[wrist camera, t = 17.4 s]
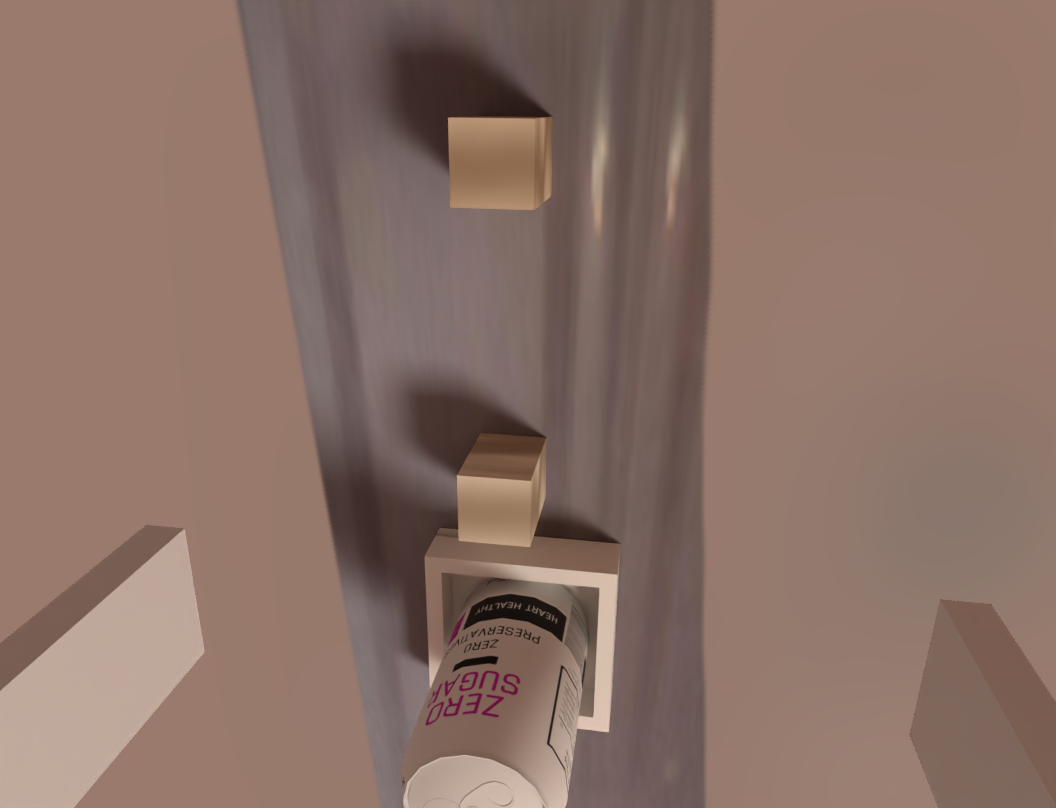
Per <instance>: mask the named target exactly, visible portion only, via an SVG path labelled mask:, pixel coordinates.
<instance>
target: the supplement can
mask: <svg viewBox="0 0 1056 808" xmlns="http://www.w3.org/2000/svg"><path fill="white" fill-rule="evenodd" d="M588 646H589V628H588V619H587V617H586V615H585V613H584V611H583V609H582V607H581V605H580V604H579V602H578V600H577V599H576V598H575V597H574V596H573V595H571V594H570V593H569V592H568V591H567V590H566V589H565V588H564V587H563V586H562V585H560V584H555V583H545V582H534V581H524V580H514V579H503V578H493V577H492V578H490V579H488V580H487V581H485V582H483V583H481V584H480V585H478V586H477V587H476V588H475V589H474V591H473V592H472V593H471V595H470V596H469V597H468V598H467V600H466V601H465V604H464V606H463V609H462V611H461V614H460V616H459V619H458V621H457V624H456V626H455V629H454V631H453V634H452V636H451V639H450V641H449V644H448V646H447V649H446V651H445V654H444V656H443V659H442V661H441V664H440V666H439V669H438V671H437V674H436V676H435V679H434V681H433V684H432V686H431V689H430V691H429V694H428V696H427V699H426V701H425V704H424V706H423V709H422V711H421V714H420V716H419V719H418V721H417V724H416V726H415V729H414V731H413V734H412V736H411V739H410V741H409V744H408V746H407V749H406V751H405V755H404V759H403V763H402V767H401V771H400V776H401V781H402V785H403V790H404V798H403V803H404V808H565V806H566V804H567V797H568V790H569V782H570V775H571V768H572V761H573V754H574V746H575V739H576V732H577V725H578V718H579V710H580V703H581V696H582V689H583V682H584V674H585V667H586V660H587V653H588Z"/></svg>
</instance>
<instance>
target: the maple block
mask: <svg viewBox="0 0 1056 808" xmlns="http://www.w3.org/2000/svg"><path fill="white" fill-rule="evenodd" d="M448 137H449V178H450V208H483V209H517V210H535V209H536V208H537V207H538V206H540V205H541V204H542V203H543V202H545V201H546V200H547V199H548V198H550V197H551V167H552V117H520V116H467V117H449V118H448Z"/></svg>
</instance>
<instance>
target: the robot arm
mask: <svg viewBox="0 0 1056 808" xmlns="http://www.w3.org/2000/svg"><path fill="white" fill-rule="evenodd" d="M203 653H204V646H203V640H202V634H201V627H200V621H199V615H198V609H197V603H196V597H195V591H194V584H193V578H192V573H191V566H190V560H189V554H188V548H187V542H186V535H185V529H183V528H173V527H162V526H151V525H146V526H144V527H143V528H142V529H141V530H140V531H138V532H137V533H136V534H135V535H133V536H132V537H131V538H130V539H129V540H127V541H126V542H125V543H123V544H122V545H121V546H120V547H119V548H117V549H116V550H115V551H114V552H112V553H111V554H110V555H109V556H108V557H106V558H105V559H104V560H102V561H101V562H100V563H99V564H98V565H96V566H95V567H94V568H93V569H91V570H90V571H89V572H88V573H86V574H85V575H84V576H83V577H81V578H80V579H79V580H78V581H77V582H75V583H74V584H73V585H72V586H70V587H69V588H68V589H67V590H65V591H64V592H63V593H62V594H60V595H59V596H58V597H57V598H56V599H54V600H53V601H52V602H51V603H50V604H48V605H47V606H46V607H44V608H43V609H42V610H41V611H40V612H38V613H37V614H36V615H35V616H33V617H32V618H31V619H30V620H28V621H27V622H26V623H25V624H23V625H22V626H21V627H20V628H19V629H17V630H16V631H15V632H14V633H12V634H11V635H10V636H9V637H7V638H6V639H5V640H4V641H2V642H1V643H0V808H74V807H75V805H76V804H77V803H78V802H79V801H80V799H81V798H82V797H83V796H84V795H85V793H86V792H87V791H88V790H89V789H90V788H91V786H92V785H93V784H94V783H95V781H96V780H97V779H98V778H99V777H100V776H101V774H102V773H103V772H104V771H105V770H106V769H107V767H108V766H109V765H110V764H111V762H112V761H113V760H114V759H115V758H116V756H117V755H118V754H119V753H120V752H121V750H122V749H123V748H124V747H125V746H126V745H127V744H128V742H129V741H130V740H131V739H132V738H133V736H134V735H135V734H136V733H137V732H138V730H139V729H140V728H141V727H142V726H143V725H144V723H145V722H146V721H147V719H148V718H149V717H150V716H151V715H152V714H153V713H154V711H155V710H156V709H157V708H158V707H159V705H160V704H161V703H162V702H163V701H164V700H165V698H166V697H167V696H168V695H169V694H170V692H171V691H172V690H173V689H174V688H175V686H176V685H177V684H178V683H179V682H180V680H181V679H182V678H183V677H184V676H185V675H186V673H187V672H188V671H189V670H190V669H191V667H192V666H193V665H194V664H195V663H196V661H197V660H198V659H199V658H200V657H201V655H202V654H203ZM910 737H911V740H912V742H913V745H914V747H915V750H916V752H917V755H918V758H919V760H920V763H921V765H922V768H923V770H924V773H925V775H926V778H927V781H928V783H929V786H930V788H931V791H932V793H933V796H934V798H935V801H936V803H937V806H938V808H1056V702H1055V700H1054V699H1053V697H1052V696H1051V694H1050V693H1049V691H1048V690H1047V688H1046V686H1045V685H1044V684H1043V682H1042V681H1041V679H1040V678H1039V676H1038V674H1037V673H1036V671H1035V670H1034V668H1033V667H1032V665H1031V664H1030V662H1029V661H1028V659H1027V658H1026V656H1025V655H1024V653H1023V652H1022V650H1021V648H1020V647H1019V645H1018V644H1017V643H1016V641H1015V639H1014V638H1013V636H1012V635H1011V634H1010V632H1009V630H1008V629H1007V627H1006V626H1005V624H1004V623H1003V621H1002V620H1001V618H1000V617H999V615H998V614H997V612H996V611H995V609H994V607H993V606H992V604H984V603H973V602H962V601H952V600H941V599H940V603H939V607H938V612H937V616H936V620H935V625H934V629H933V634H932V638H931V642H930V647H929V651H928V656H927V660H926V665H925V669H924V673H923V678H922V682H921V687H920V691H919V696H918V700H917V705H916V709H915V713H914V718H913V722H912V726H911V731H910Z"/></svg>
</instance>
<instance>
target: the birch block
mask: <svg viewBox="0 0 1056 808" xmlns="http://www.w3.org/2000/svg"><path fill="white" fill-rule="evenodd" d="M545 489H546V437H533V436H518V435H504V434H489V433H480V435H479V437H478V439H477V440H476V442H475V444H474V446H473V448H472V449H471V451H470V453H469V455H468V457H467V458H466V460H465V462H464V464H463V465H462V467H461V469H460V471H459V473H458V474H457V497H458V534H459V541H465V542H477V543H488V544H499V545H510V546H521V547H530V546H531V543H532V540H533V536H534V533H535V530H536V527H537V523H538V520H539V517H540V513H541V510H542V507H543V503H544V500H545Z"/></svg>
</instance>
